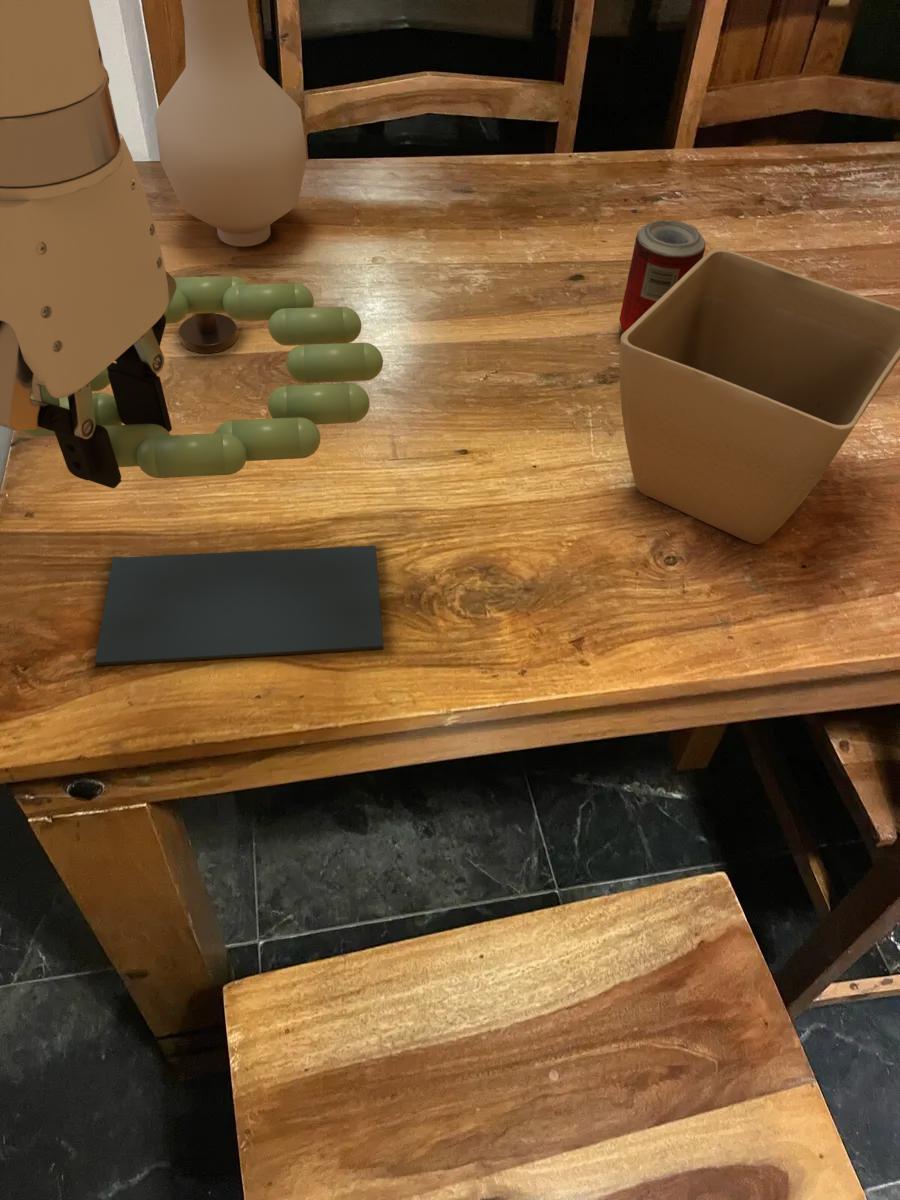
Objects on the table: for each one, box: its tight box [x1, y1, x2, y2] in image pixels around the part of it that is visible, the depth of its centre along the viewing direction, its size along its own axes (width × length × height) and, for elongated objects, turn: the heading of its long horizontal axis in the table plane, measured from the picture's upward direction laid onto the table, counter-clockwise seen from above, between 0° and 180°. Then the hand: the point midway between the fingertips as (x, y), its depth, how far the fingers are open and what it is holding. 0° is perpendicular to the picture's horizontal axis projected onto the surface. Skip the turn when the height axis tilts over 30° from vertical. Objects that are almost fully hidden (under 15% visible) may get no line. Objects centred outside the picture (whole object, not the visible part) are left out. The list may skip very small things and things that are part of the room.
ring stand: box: [178, 313, 238, 354], centre depth 98 cm, size 6×6×5 cm
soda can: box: [619, 219, 707, 334], centre depth 99 cm, size 7×7×12 cm
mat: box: [94, 545, 384, 667], centre depth 76 cm, size 22×11×1 cm, turn 96°
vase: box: [154, 0, 307, 248], centre depth 104 cm, size 17×16×28 cm
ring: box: [21, 275, 384, 479], centre depth 59 cm, size 23×19×2 cm
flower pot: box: [619, 247, 900, 545], centre depth 82 cm, size 19×19×17 cm
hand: (121, 450), depth 54 cm, fingers closed on ring, 4 cm apart
